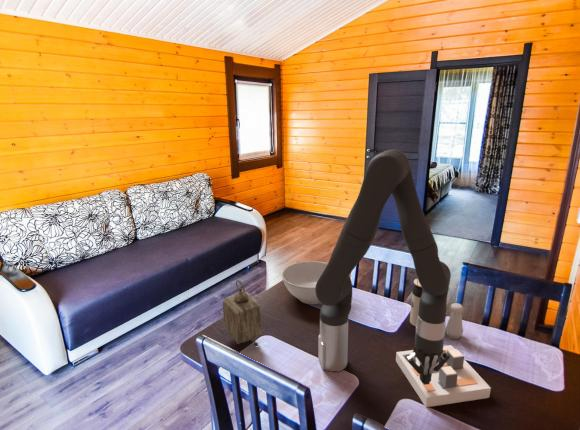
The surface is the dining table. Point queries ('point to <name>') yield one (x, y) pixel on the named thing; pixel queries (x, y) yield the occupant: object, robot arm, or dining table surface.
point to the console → (434, 392)
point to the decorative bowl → (303, 280)
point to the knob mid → (455, 359)
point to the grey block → (448, 377)
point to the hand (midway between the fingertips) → (425, 382)
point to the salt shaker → (455, 321)
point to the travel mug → (415, 302)
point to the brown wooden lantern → (242, 316)
